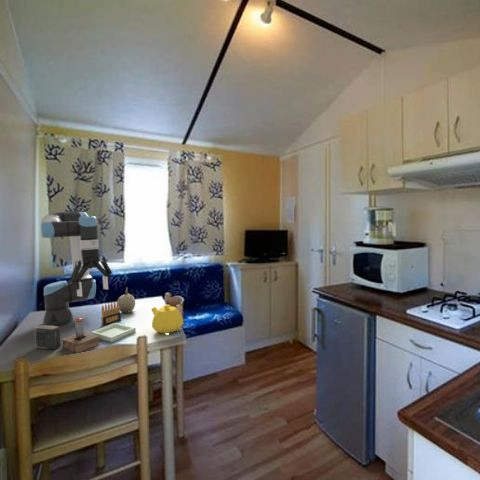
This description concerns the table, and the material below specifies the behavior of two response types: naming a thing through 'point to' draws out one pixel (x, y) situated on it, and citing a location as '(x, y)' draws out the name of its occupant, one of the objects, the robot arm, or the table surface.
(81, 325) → the pin
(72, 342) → the slotted wooden block
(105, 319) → the ammunition clip
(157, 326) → the teapot
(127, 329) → the tray
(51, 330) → the camera
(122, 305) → the fruit
